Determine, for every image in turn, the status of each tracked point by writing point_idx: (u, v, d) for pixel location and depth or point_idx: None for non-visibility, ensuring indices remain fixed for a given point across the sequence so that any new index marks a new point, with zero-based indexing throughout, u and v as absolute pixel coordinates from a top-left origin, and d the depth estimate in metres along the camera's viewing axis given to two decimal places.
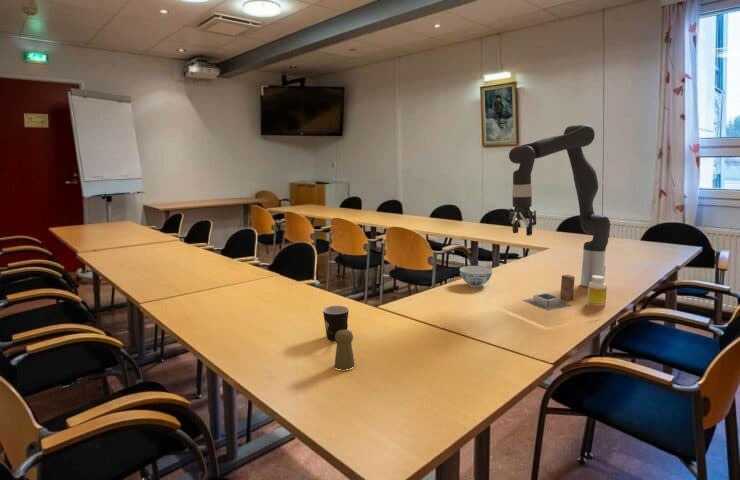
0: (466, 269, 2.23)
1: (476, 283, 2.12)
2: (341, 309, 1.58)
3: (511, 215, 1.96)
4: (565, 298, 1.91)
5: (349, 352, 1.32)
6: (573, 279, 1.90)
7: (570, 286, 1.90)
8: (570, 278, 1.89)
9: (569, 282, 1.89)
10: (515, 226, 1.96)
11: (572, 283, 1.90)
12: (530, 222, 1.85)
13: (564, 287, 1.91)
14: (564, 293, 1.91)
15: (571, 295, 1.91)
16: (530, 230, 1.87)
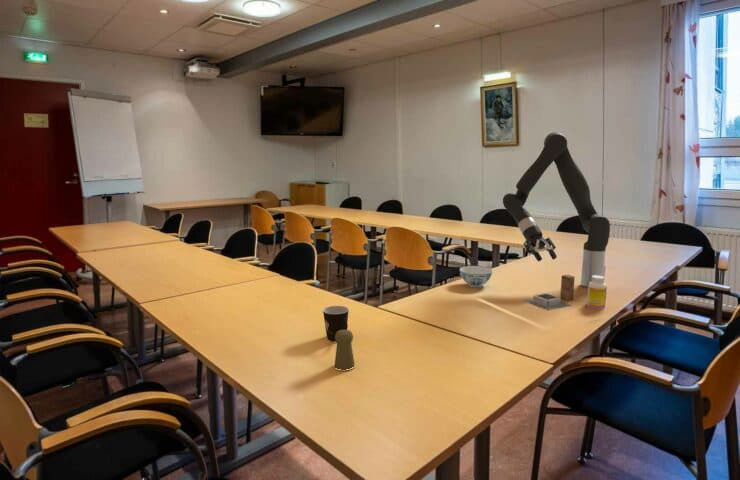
0: (466, 269, 2.23)
1: (476, 283, 2.12)
2: (341, 309, 1.58)
3: None
4: (565, 298, 1.91)
5: (349, 352, 1.32)
6: (573, 279, 1.90)
7: (570, 286, 1.90)
8: (570, 278, 1.89)
9: (569, 282, 1.89)
10: (550, 253, 2.04)
11: (572, 283, 1.90)
12: None
13: (564, 287, 1.91)
14: (564, 293, 1.91)
15: (571, 295, 1.91)
16: (535, 256, 1.99)
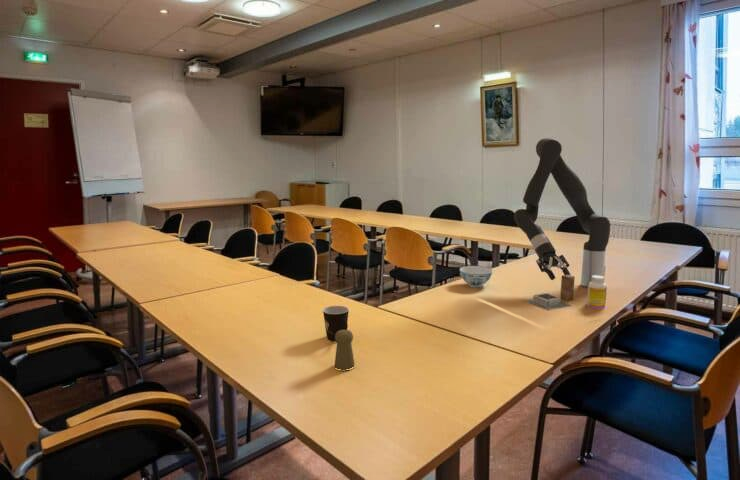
0: (466, 269, 2.23)
1: (476, 283, 2.12)
2: (341, 309, 1.58)
3: None
4: (565, 298, 1.91)
5: (349, 352, 1.32)
6: (573, 279, 1.90)
7: (570, 286, 1.90)
8: (570, 278, 1.89)
9: (569, 282, 1.89)
10: (564, 271, 1.97)
11: (572, 283, 1.90)
12: None
13: (564, 287, 1.91)
14: (564, 293, 1.91)
15: (571, 295, 1.91)
16: (549, 275, 1.93)
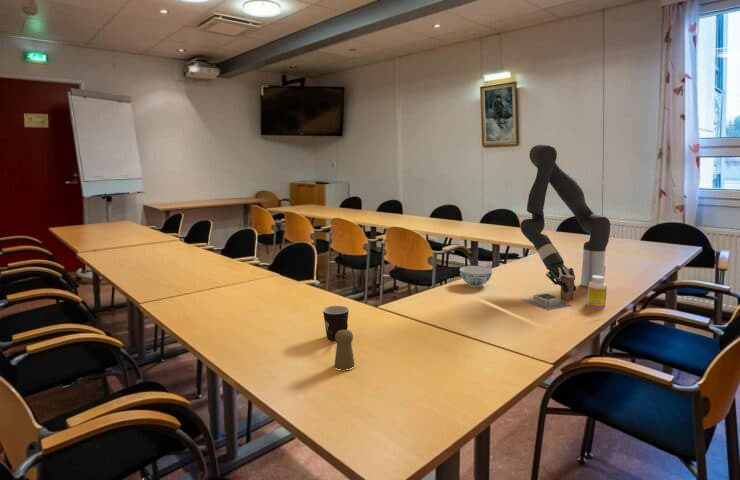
0: (466, 269, 2.23)
1: (476, 283, 2.12)
2: (341, 309, 1.58)
3: None
4: (565, 298, 1.91)
5: (349, 352, 1.32)
6: (573, 279, 1.90)
7: (570, 286, 1.90)
8: (570, 278, 1.89)
9: (569, 282, 1.89)
10: None
11: (572, 283, 1.90)
12: None
13: None
14: (564, 293, 1.91)
15: (571, 295, 1.91)
16: (562, 287, 1.90)
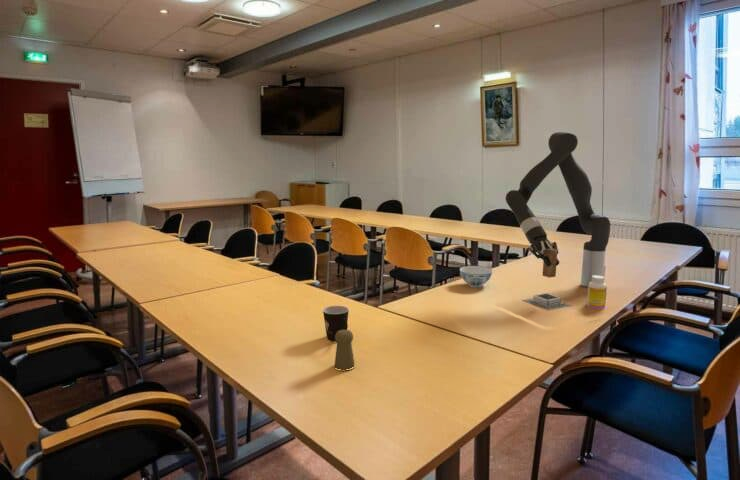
0: (466, 269, 2.23)
1: (476, 283, 2.12)
2: (341, 309, 1.58)
3: None
4: (547, 272, 1.85)
5: (349, 352, 1.32)
6: (556, 252, 1.84)
7: (552, 260, 1.84)
8: (552, 251, 1.83)
9: (551, 255, 1.83)
10: None
11: (555, 256, 1.84)
12: None
13: None
14: (546, 267, 1.85)
15: (554, 269, 1.85)
16: (545, 261, 1.84)
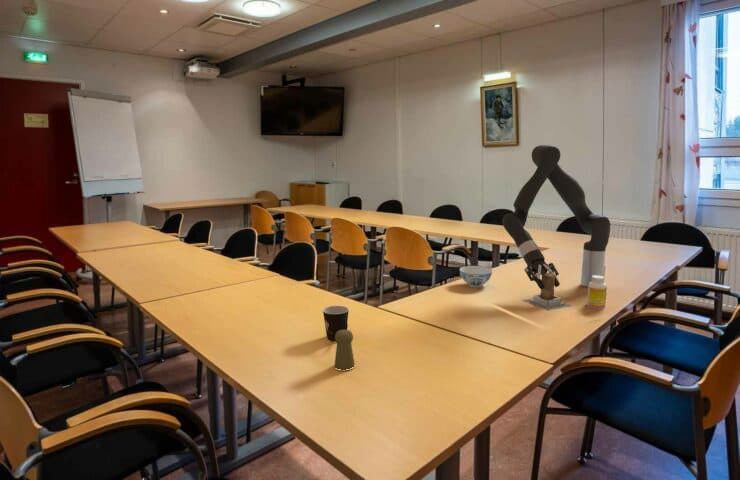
0: (466, 269, 2.23)
1: (476, 283, 2.12)
2: (341, 309, 1.58)
3: None
4: (545, 298, 1.86)
5: (349, 352, 1.32)
6: (553, 278, 1.85)
7: (550, 285, 1.85)
8: (550, 277, 1.84)
9: (549, 281, 1.84)
10: None
11: (553, 282, 1.85)
12: None
13: None
14: (544, 293, 1.87)
15: (551, 295, 1.86)
16: (538, 284, 1.85)
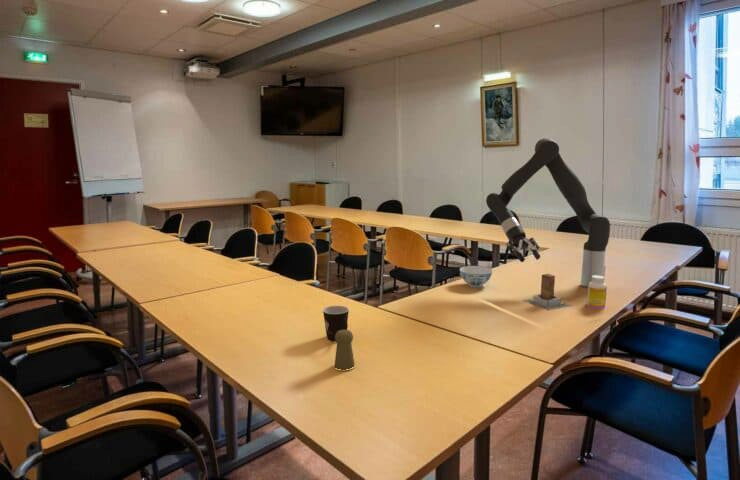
0: (466, 269, 2.23)
1: (476, 283, 2.12)
2: (341, 309, 1.58)
3: None
4: (545, 298, 1.86)
5: (349, 352, 1.32)
6: (553, 278, 1.85)
7: (550, 285, 1.85)
8: (550, 277, 1.84)
9: (549, 281, 1.84)
10: (534, 253, 2.01)
11: (553, 282, 1.85)
12: None
13: (544, 287, 1.86)
14: (544, 293, 1.87)
15: (551, 295, 1.86)
16: (518, 257, 1.97)
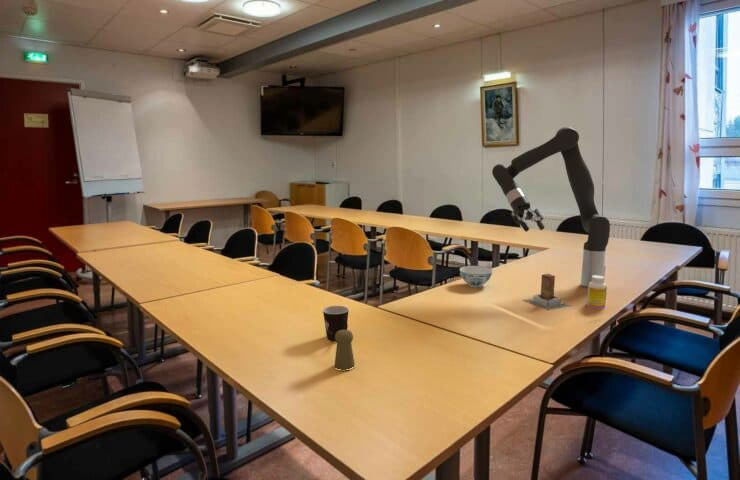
0: (466, 269, 2.23)
1: (476, 283, 2.12)
2: (341, 309, 1.58)
3: None
4: (545, 298, 1.86)
5: (349, 352, 1.32)
6: (553, 278, 1.85)
7: (550, 285, 1.85)
8: (550, 277, 1.84)
9: (549, 281, 1.84)
10: (538, 224, 2.02)
11: (553, 282, 1.85)
12: None
13: (544, 287, 1.86)
14: (544, 293, 1.87)
15: (551, 295, 1.86)
16: (523, 226, 1.98)
